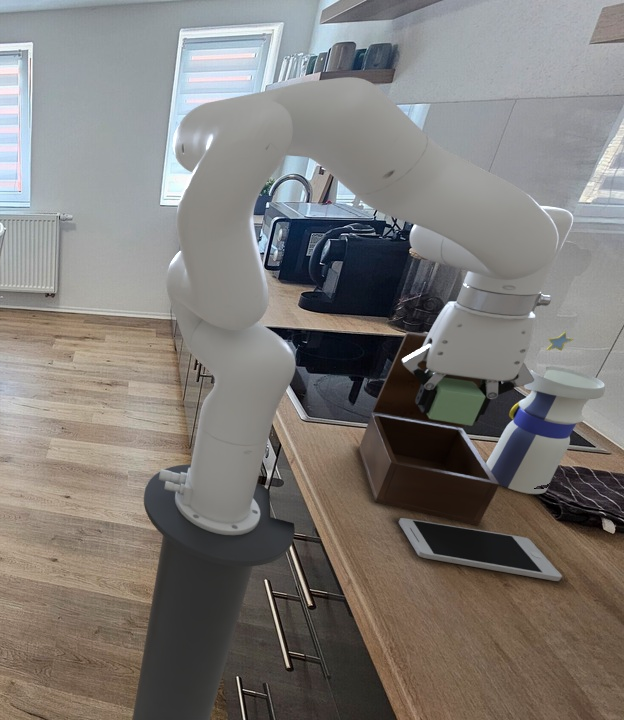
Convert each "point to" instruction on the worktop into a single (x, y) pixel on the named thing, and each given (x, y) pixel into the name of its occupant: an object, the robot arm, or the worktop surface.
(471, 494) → the chest
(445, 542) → the smartphone
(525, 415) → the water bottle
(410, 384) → the chest lid
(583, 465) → the worktop surface
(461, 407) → the block
